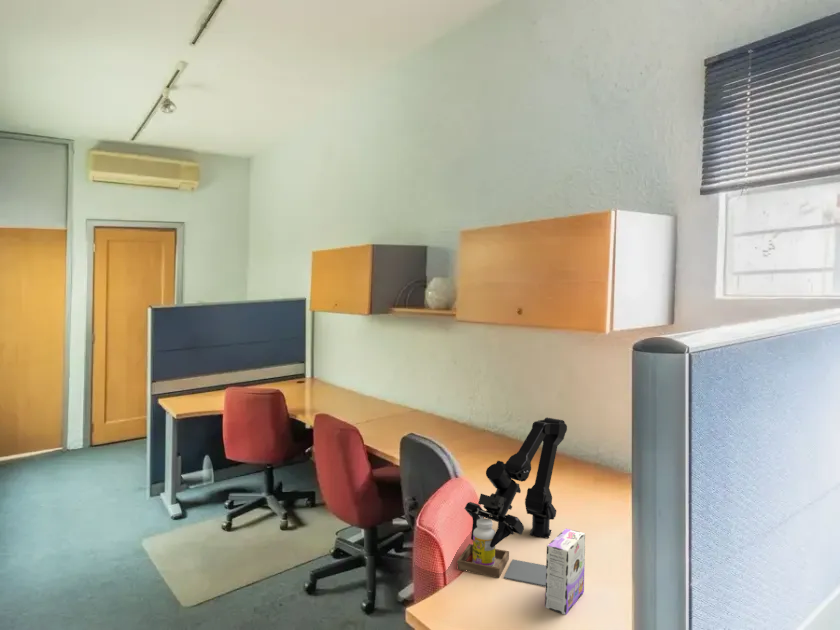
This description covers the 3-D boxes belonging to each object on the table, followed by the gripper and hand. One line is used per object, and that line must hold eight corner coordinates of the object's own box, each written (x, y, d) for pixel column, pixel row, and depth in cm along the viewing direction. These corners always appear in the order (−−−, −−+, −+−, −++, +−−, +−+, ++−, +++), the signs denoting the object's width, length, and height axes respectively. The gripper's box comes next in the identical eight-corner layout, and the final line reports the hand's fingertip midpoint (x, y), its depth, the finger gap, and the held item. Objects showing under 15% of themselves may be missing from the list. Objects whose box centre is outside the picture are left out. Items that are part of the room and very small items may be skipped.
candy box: (563, 586, 154) (565, 527, 154) (584, 593, 151) (586, 532, 150) (544, 607, 143) (545, 544, 142) (566, 615, 139) (568, 550, 139)
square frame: (469, 551, 174) (469, 543, 174) (508, 559, 170) (509, 551, 170) (456, 569, 163) (456, 560, 163) (499, 577, 158) (499, 569, 158)
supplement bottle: (468, 560, 168) (469, 518, 168) (488, 557, 171) (489, 515, 170) (478, 570, 162) (479, 526, 162) (498, 567, 164) (499, 523, 164)
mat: (512, 560, 169) (512, 559, 169) (552, 568, 165) (552, 566, 165) (503, 578, 158) (503, 576, 158) (546, 587, 153) (546, 585, 153)
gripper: (468, 476, 175) (445, 520, 167) (519, 490, 162) (496, 539, 154) (483, 494, 181) (461, 538, 173) (533, 510, 168) (511, 558, 160)
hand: (481, 543), depth 165 cm, fingers closed on supplement bottle, 7 cm apart
